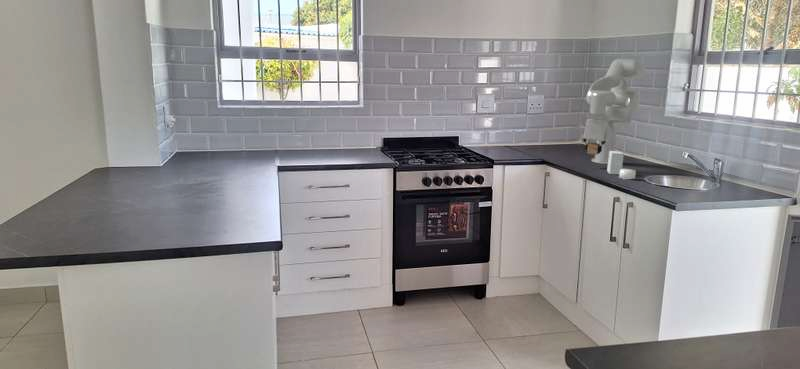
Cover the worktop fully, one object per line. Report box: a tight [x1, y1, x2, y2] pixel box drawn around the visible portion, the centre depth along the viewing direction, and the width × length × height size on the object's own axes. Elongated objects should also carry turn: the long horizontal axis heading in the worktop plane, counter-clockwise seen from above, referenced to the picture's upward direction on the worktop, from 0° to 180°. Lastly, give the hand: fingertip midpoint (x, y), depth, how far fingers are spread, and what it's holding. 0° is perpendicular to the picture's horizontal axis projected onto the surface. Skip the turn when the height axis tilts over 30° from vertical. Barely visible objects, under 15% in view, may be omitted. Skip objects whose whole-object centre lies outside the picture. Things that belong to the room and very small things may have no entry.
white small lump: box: [618, 168, 637, 180], centre depth 266 cm, size 7×7×4 cm
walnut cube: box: [586, 142, 599, 156], centre depth 288 cm, size 5×5×5 cm
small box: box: [606, 150, 625, 176], centre depth 277 cm, size 8×6×10 cm
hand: (593, 151), depth 289 cm, fingers closed on walnut cube, 5 cm apart
